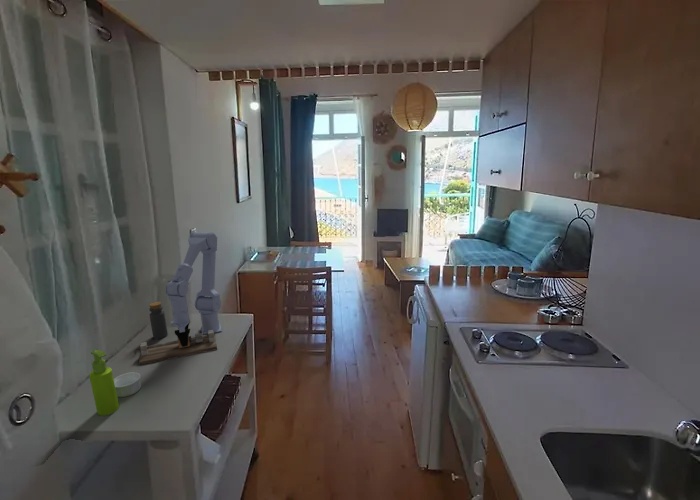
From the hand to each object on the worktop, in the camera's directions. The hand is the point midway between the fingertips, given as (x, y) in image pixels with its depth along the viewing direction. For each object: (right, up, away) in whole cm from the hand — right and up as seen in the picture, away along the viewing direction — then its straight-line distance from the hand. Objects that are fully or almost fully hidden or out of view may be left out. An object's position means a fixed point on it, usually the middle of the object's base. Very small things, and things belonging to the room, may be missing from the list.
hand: (184, 341), depth 164 cm
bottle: (-16, -1, +13) cm, 21 cm away
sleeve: (0, -1, 0) cm, 1 cm away
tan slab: (-2, -3, 0) cm, 4 cm away
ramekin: (-8, -10, -27) cm, 30 cm away
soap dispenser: (-8, -13, -38) cm, 41 cm away
